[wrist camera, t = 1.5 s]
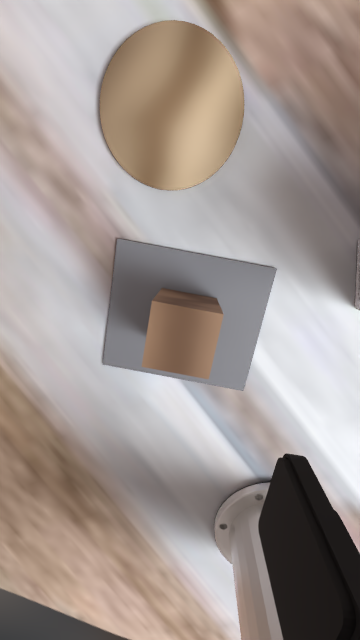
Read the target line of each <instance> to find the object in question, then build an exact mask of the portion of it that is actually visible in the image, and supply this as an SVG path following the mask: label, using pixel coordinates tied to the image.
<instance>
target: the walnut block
mask: <svg viewBox="0 0 360 640" xmlns="http://www.w3.org/2000/svg"><path fill="white" fill-rule="evenodd" d="M223 315H224V314H223V312H222V309H221V307H220V305H219V302H218V300H217V298H212V297H207V296H202V295H197V294H191V293H186V292H181V291H175V290H170V289H165V288H161V290H160V291H159V292H158V294H157V295H156V296H155V298H154V299H153V300H152V304H151V310H150V316H149V323H148V329H147V335H146V342H145V348H144V354H143V361H142V367H145V368H151V369H156V370H161V371H166V372H172V373H177V374H182V375H187V376H193V377H198V378H203V379H209V376H210V371H211V367H212V363H213V359H214V354H215V350H216V346H217V341H218V337H219V333H220V328H221V324H222V320H223Z"/></svg>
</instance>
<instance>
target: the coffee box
mask: <svg viewBox="0 0 360 640" xmlns="http://www.w3.org/2000/svg"><path fill="white" fill-rule="evenodd" d="M355 308H356V309H358V310H360V239H359V240H358V252H357V271H356V292H355Z"/></svg>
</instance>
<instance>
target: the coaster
mask: <svg viewBox="0 0 360 640" xmlns="http://www.w3.org/2000/svg"><path fill="white" fill-rule="evenodd" d="M243 115H244V92H243V86H242V81H241V77H240V74H239V71H238V68H237V66H236V64H235V62H234V60H233V58H232V56H231V55H230V53H229V52H228V50H227V49H226V48H225V46H224V45H223V44H222V43H221V42H220V41H219V40H218V39H217V38H216V37H215V36H214V35H213V34H211V33H210V32H208V31H207V30H205V29H204V28H201V27H199V26H197V25H195V24H192V23H188V22H184V21H175V20H173V21H162V22H158V23H154V24H151V25H149V26H146V27H144V28H142V29H141V30H139V31H137V32H135V33H134V34H133V35H132V36H131V37H129V38H128V39H127V40H126V41H125V42H124V43H123V44H122V45H121V46H120V48H119V49H118V50H117V52H116V53H115V55H114V56H113V58H112V60H111V62H110V63H109V65H108V68H107V70H106V73H105V75H104V79H103V83H102V87H101V94H100V119H101V125H102V130H103V133H104V136H105V139H106V142H107V144H108V146H109V149H110V150H111V152H112V154H113V156H114V157H115V159H116V160H117V161H118V163H119V164H120V165H121V166H122V167H123V168H124V169H125V170H126V171H127V172H128V174H130V175H131V176H132V177H134V178H135V179H136V180H138V181H140V182H141V183H143V184H145V185H147V186H150V187H153V188H156V189H160V190H182V189H187V188H190V187H193V186H196V185H198V184H200V183H202V182H204V181H205V180H207V179H208V178H210V177H211V176H212V175H213V174H214V173H216V172H217V171H218V170H219V169H220V168H221V166H222V165H223V164H224V163H225V162H226V160H227V159H228V157H229V156H230V154H231V152H232V150H233V149H234V147H235V144H236V142H237V139H238V137H239V134H240V130H241V127H242V122H243Z"/></svg>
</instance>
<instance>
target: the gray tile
mask: <svg viewBox="0 0 360 640" xmlns="http://www.w3.org/2000/svg"><path fill="white" fill-rule="evenodd" d="M276 270H277V269H276V268H271V267H266V266H261V265H255V264H250V263H245V262H239V261H234V260H229V259H224V258H218V257H213V256H208V255H202V254H197V253H192V252H186V251H181V250H176V249H171V248H165V247H160V246H155V245H149V244H144V243H139V242H134V241H128V240H123V239H117V246H116V254H115V263H114V272H113V280H112V289H111V298H110V306H109V315H108V323H107V332H106V341H105V349H104V358H103V364H104V365H109V366H114V367H120V368H125V369H130V370H135V371H141V372H146V373H151V374H157V375H162V376H167V377H172V378H178V379H183V380H188V381H193V382H199V383H204V384H209V385H215V386H220V387H225V388H230V389H236V390H241V391H243V390H244V387H245V383H246V379H247V376H248V372H249V369H250V365H251V361H252V358H253V354H254V350H255V347H256V343H257V339H258V336H259V332H260V328H261V325H262V321H263V317H264V314H265V310H266V306H267V303H268V299H269V295H270V292H271V288H272V284H273V281H274V277H275V273H276ZM161 288H165V289H170V290H175V291H181V292H186V293H191V294H197V295H202V296H207V297H212V298H217V300H218V302H219V305H220V307H221V309H222V312H223V314H224V315H223V320H222V324H221V328H220V333H219V337H218V341H217V346H216V350H215V354H214V359H213V363H212V367H211V371H210V376H209V379H203V378H198V377H193V376H187V375H182V374H177V373H172V372H166V371H161V370H156V369H151V368H145V367H142V361H143V354H144V348H145V342H146V335H147V329H148V323H149V316H150V310H151V304H152V300H153V299H154V298H155V296H156V295H157V294H158V292H159V291H160V290H161Z"/></svg>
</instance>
